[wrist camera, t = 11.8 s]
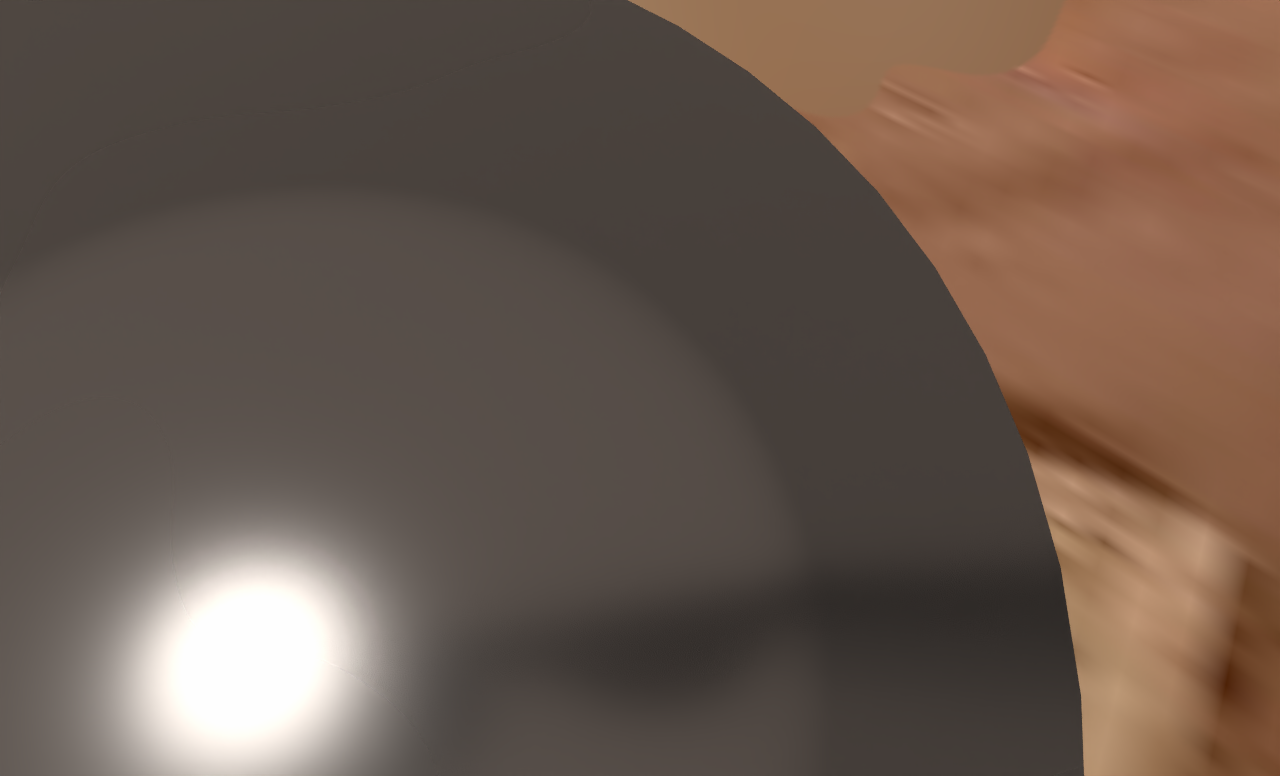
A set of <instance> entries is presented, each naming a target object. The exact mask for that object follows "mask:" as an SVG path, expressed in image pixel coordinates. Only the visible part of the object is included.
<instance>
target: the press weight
mask: <svg viewBox="0 0 1280 776" xmlns="http://www.w3.org/2000/svg"><path fill="white" fill-rule="evenodd" d="M0 776H1084V766H1083V738H1082V711H1081V693H1080V687H1079V681H1078V674H1077V668H1076V662H1075V655H1074V649H1073V643H1072V637H1071V630H1070V624H1069V618H1068V611H1067V605H1066V599H1065V593H1064V586H1063V580H1062V574H1061V568H1060V564H1059V561H1058V557H1057V554H1056V550H1055V547H1054V543H1053V540H1052V536H1051V533H1050V529H1049V526H1048V522H1047V519H1046V515H1045V512H1044V508H1043V505H1042V501H1041V498H1040V494H1039V491H1038V488H1037V484H1036V481H1035V477H1034V474H1033V470H1032V467H1031V463H1030V460H1029V456H1028V453H1027V451H1026V449H1025V446H1024V444H1023V441H1022V439H1021V437H1020V434H1019V432H1018V430H1017V427H1016V425H1015V423H1014V420H1013V418H1012V416H1011V413H1010V411H1009V409H1008V406H1007V404H1006V402H1005V399H1004V397H1003V395H1002V392H1001V390H1000V388H999V385H998V383H997V380H996V378H995V376H994V373H993V371H992V369H991V366H990V364H989V362H988V359H987V357H986V355H985V353H984V351H983V349H982V348H981V346H980V344H979V343H978V341H977V339H976V337H975V336H974V334H973V332H972V330H971V329H970V327H969V325H968V324H967V322H966V320H965V318H964V317H963V315H962V313H961V311H960V310H959V308H958V306H957V305H956V303H955V301H954V299H953V298H952V296H951V294H950V293H949V291H948V289H947V287H946V286H945V284H944V282H943V280H942V279H941V277H940V275H939V274H938V272H937V270H936V268H935V267H934V265H933V264H932V263H931V261H930V260H929V259H928V258H927V256H926V255H925V254H924V252H923V251H922V250H921V248H920V247H919V246H918V244H917V243H916V242H915V240H914V239H913V238H912V236H911V235H910V234H909V232H908V231H907V230H906V228H905V227H904V226H903V224H902V223H901V222H900V220H899V219H898V218H897V216H896V215H895V214H894V213H893V211H892V210H891V209H890V207H889V206H888V205H887V203H886V202H885V201H884V199H883V198H882V197H881V195H880V194H879V193H878V191H877V190H876V189H875V188H874V187H873V186H872V185H871V184H870V183H869V182H868V181H867V180H866V179H865V178H864V177H863V176H862V175H861V174H860V173H859V172H858V171H857V170H856V169H855V168H854V166H853V165H852V164H851V163H850V162H849V161H848V160H847V159H846V158H845V157H844V156H843V155H842V154H841V153H840V152H839V151H838V150H837V149H836V148H835V147H834V146H833V145H832V144H831V143H830V142H829V140H828V139H827V138H826V137H825V136H824V135H823V134H822V133H821V132H820V131H819V130H818V129H817V128H816V127H815V126H814V125H813V124H811V123H810V122H809V121H808V120H806V119H805V118H804V117H803V116H802V115H800V114H799V113H798V112H797V111H796V110H794V109H793V108H792V107H791V106H789V105H788V104H787V103H786V102H784V101H783V100H782V99H781V98H780V97H778V96H777V95H776V94H775V93H773V92H772V91H771V90H770V89H769V88H767V87H766V86H765V85H764V84H763V83H761V82H760V81H759V80H758V79H757V78H755V77H754V76H753V75H752V74H751V73H749V72H748V71H746V70H745V69H743V68H742V67H740V66H739V65H737V64H736V63H734V62H733V61H731V60H730V59H728V58H726V57H725V56H723V55H722V54H720V53H719V52H717V51H716V50H714V49H713V48H711V47H710V46H708V45H706V44H705V43H703V42H702V41H700V40H699V39H697V38H696V37H694V36H693V35H691V34H690V33H688V32H686V31H685V30H683V29H682V28H680V27H679V26H677V25H675V24H673V23H671V22H669V21H667V20H665V19H663V18H661V17H659V16H657V15H655V14H653V13H651V12H649V11H647V10H645V9H643V8H641V7H640V6H638V5H636V4H634V3H632V2H630V1H628V0H0Z"/></svg>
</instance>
